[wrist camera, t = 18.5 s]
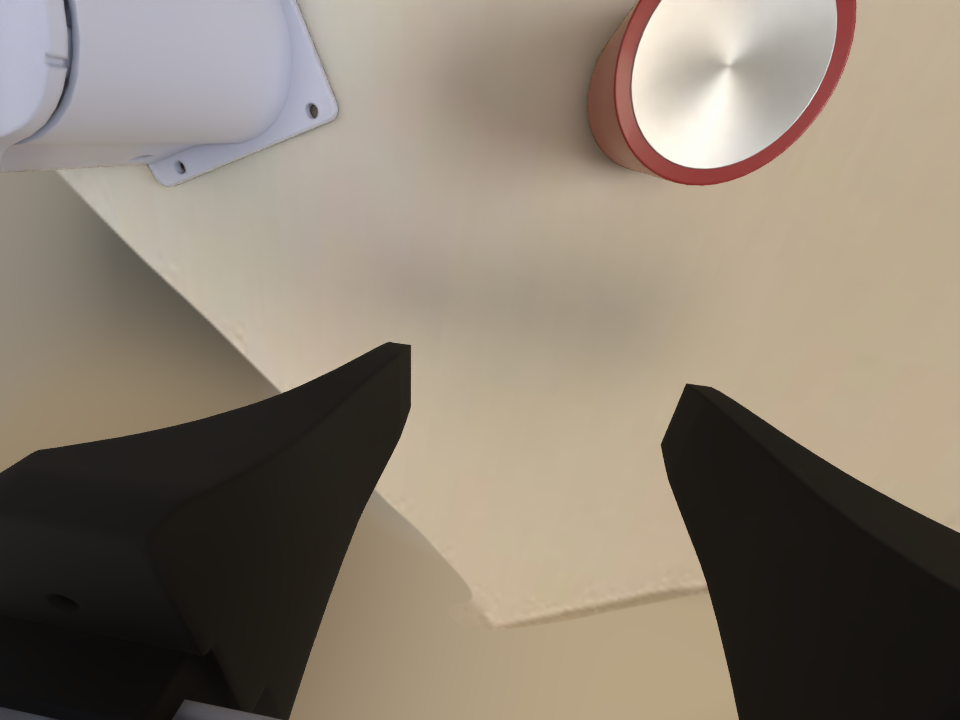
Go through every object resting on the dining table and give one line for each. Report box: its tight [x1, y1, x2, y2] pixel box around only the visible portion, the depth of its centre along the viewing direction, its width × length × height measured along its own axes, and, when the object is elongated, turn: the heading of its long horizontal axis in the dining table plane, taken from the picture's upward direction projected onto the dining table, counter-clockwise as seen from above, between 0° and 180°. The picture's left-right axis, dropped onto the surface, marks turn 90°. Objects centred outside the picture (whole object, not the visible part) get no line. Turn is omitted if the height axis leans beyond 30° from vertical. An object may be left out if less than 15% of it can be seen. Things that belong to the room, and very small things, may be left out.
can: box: [587, 0, 856, 186], centre depth 12 cm, size 5×5×6 cm
